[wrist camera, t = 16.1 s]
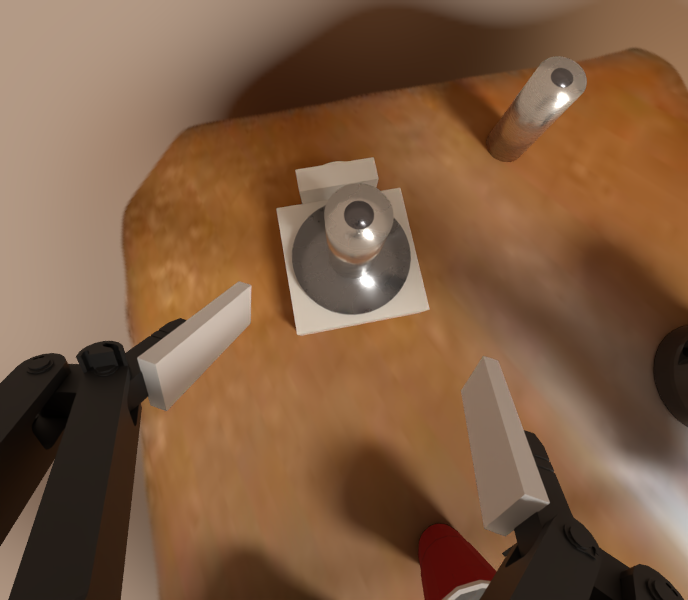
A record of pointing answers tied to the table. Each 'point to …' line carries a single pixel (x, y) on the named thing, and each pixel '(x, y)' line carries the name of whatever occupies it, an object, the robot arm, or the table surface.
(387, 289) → the scale pan
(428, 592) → the plastic cup
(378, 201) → the silver metal cylinder
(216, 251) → the table surface
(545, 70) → the cylinder
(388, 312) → the scale
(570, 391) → the table surface
